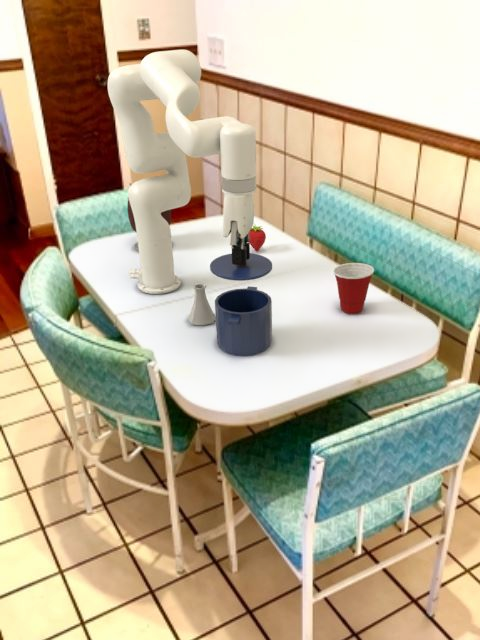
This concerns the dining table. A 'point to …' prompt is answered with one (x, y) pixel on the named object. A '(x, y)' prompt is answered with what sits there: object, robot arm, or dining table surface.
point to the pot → (244, 321)
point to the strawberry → (256, 237)
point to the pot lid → (241, 267)
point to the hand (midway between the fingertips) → (241, 260)
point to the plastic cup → (353, 285)
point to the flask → (201, 307)
